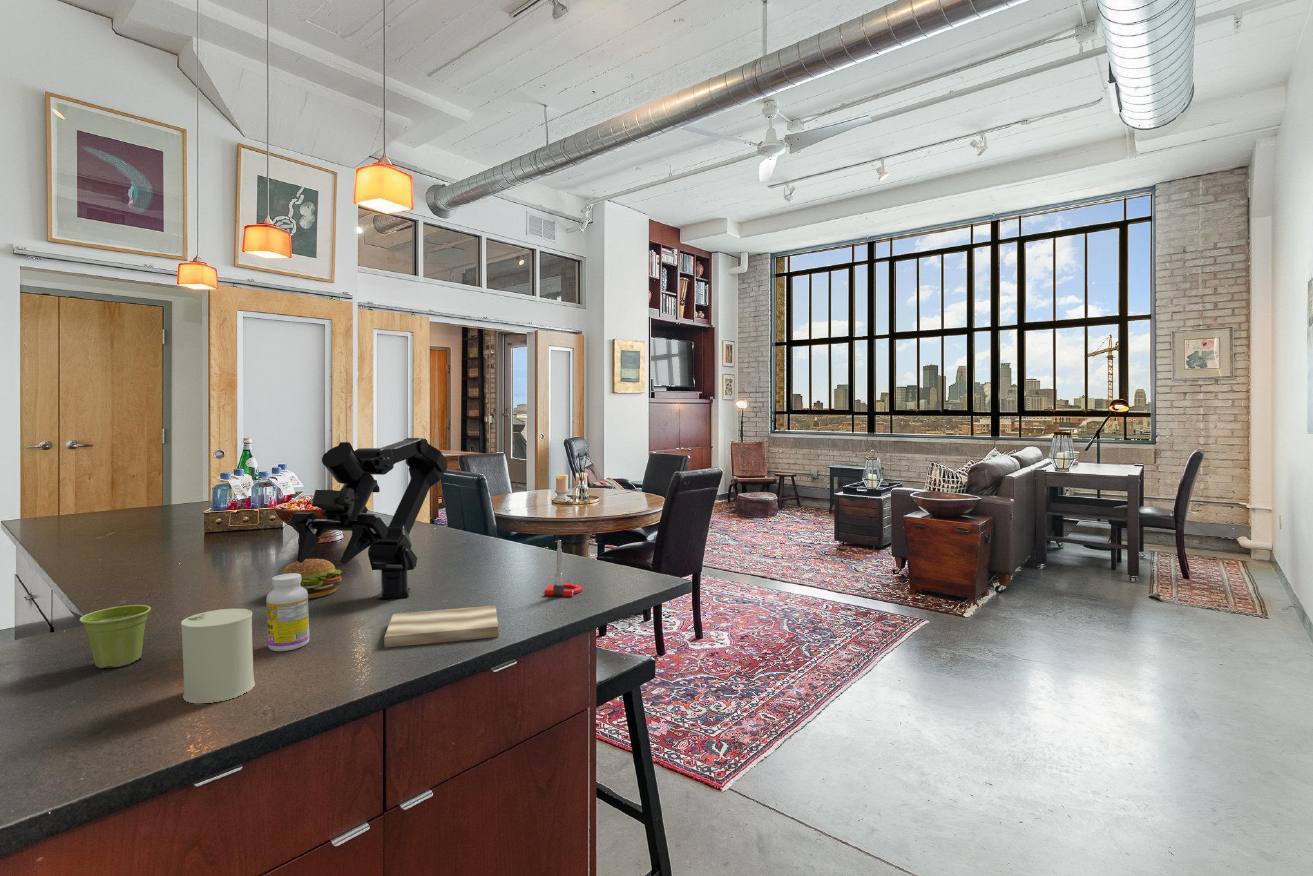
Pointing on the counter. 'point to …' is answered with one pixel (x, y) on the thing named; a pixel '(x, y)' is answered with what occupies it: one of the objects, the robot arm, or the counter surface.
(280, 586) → the supplement bottle
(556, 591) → the tow hook
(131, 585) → the counter surface
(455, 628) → the birch board
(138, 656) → the plant pot
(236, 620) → the can
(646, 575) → the counter surface
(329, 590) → the food
